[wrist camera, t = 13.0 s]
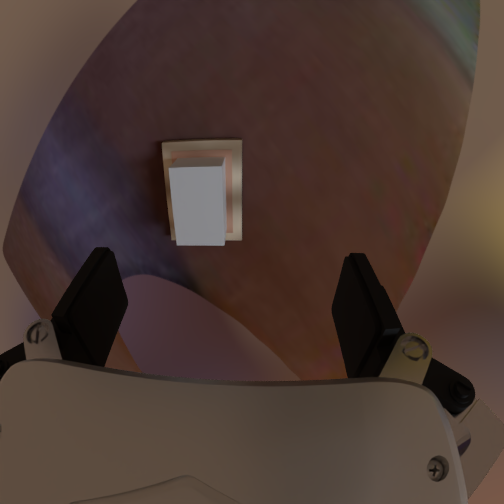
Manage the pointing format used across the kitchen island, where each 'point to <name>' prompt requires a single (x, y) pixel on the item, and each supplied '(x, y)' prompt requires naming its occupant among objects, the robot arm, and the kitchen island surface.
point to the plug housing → (199, 200)
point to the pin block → (232, 171)
